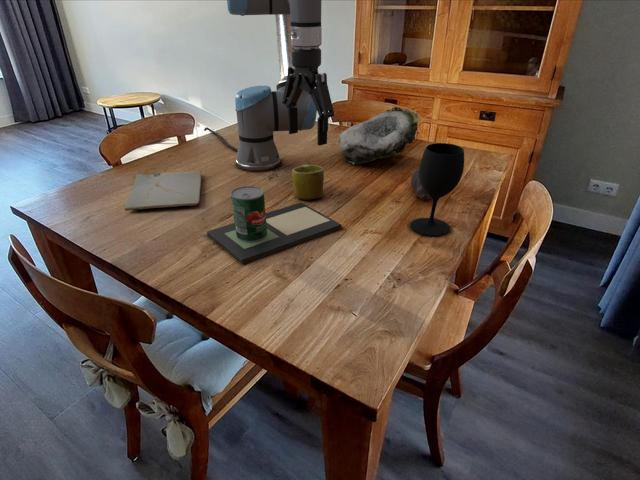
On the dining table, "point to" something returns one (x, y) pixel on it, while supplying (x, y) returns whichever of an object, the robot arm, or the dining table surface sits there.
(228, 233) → the black board
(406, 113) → the stone basin
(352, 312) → the dining table surface
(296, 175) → the mug
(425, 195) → the perforated stone tool
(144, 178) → the decorative slab
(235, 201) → the canned tomato
